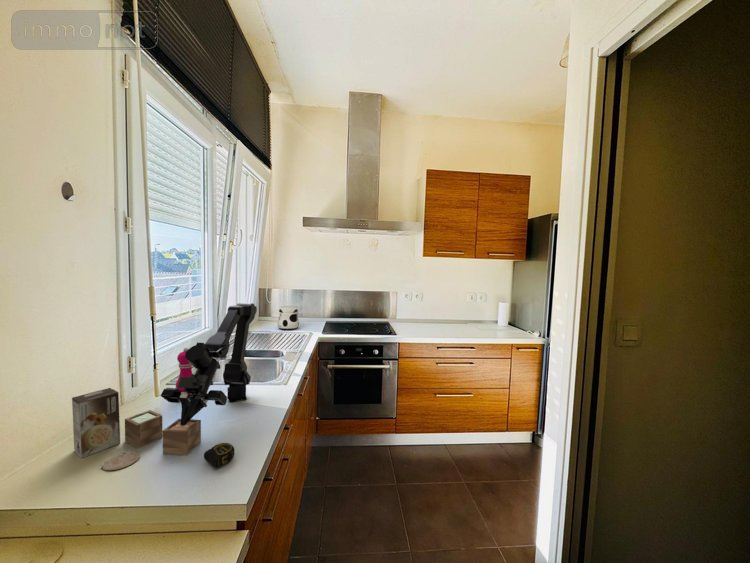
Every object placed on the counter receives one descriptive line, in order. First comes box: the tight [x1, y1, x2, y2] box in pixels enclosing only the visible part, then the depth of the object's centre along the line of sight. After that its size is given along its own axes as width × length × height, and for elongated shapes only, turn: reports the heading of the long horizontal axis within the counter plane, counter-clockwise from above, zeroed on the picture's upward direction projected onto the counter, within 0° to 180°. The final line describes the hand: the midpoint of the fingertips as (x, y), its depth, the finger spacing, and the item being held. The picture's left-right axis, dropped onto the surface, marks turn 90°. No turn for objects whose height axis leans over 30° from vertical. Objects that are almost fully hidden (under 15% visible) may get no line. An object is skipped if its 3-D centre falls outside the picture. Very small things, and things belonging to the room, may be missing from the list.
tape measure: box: [203, 442, 235, 469], centre depth 88 cm, size 7×7×4 cm
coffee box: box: [71, 387, 121, 459], centre depth 92 cm, size 9×6×16 cm
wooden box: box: [162, 418, 202, 457], centre depth 93 cm, size 7×7×7 cm
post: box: [124, 409, 163, 449], centre depth 97 cm, size 7×7×7 cm
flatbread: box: [101, 451, 140, 471], centre depth 86 cm, size 8×8×1 cm
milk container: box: [277, 305, 300, 331], centre depth 259 cm, size 17×17×18 cm
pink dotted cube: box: [169, 421, 195, 430], centre depth 93 cm, size 5×5×5 cm
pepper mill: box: [175, 347, 193, 392], centre depth 128 cm, size 7×7×20 cm
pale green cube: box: [131, 413, 156, 423], centre depth 97 cm, size 5×5×5 cm
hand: (182, 425), depth 93 cm, fingers closed, pressing on pink dotted cube
